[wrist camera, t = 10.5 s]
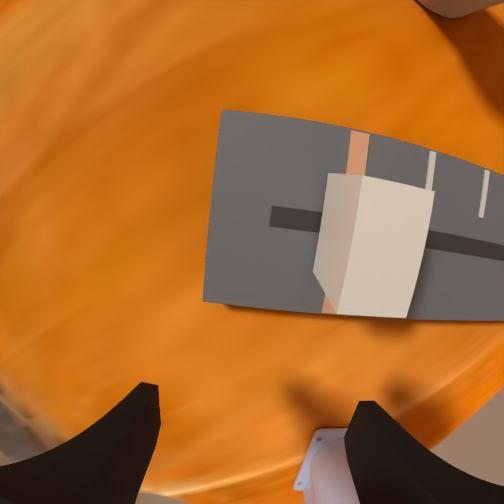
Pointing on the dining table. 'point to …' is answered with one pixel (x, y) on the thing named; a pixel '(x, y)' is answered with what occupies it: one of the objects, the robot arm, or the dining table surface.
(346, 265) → the fader
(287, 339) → the dining table surface
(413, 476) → the robot arm
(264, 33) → the dining table surface
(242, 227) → the console
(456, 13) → the flower pot
